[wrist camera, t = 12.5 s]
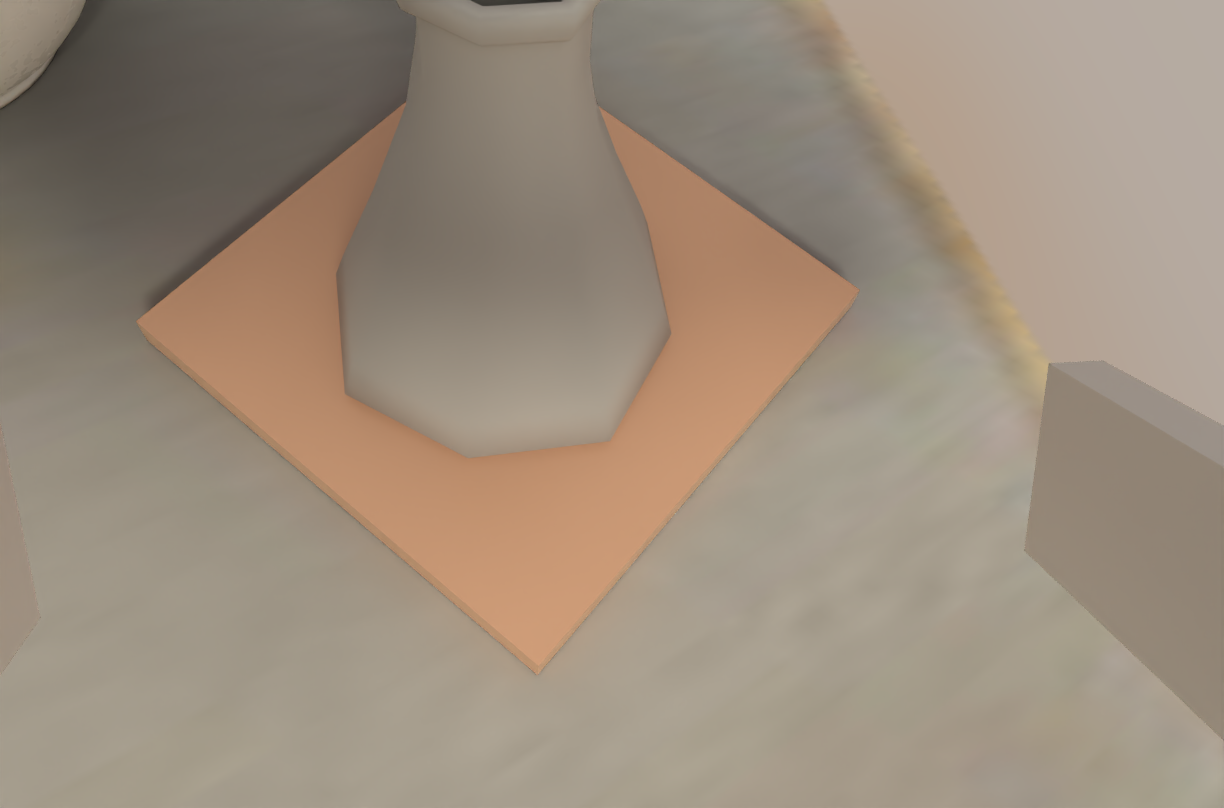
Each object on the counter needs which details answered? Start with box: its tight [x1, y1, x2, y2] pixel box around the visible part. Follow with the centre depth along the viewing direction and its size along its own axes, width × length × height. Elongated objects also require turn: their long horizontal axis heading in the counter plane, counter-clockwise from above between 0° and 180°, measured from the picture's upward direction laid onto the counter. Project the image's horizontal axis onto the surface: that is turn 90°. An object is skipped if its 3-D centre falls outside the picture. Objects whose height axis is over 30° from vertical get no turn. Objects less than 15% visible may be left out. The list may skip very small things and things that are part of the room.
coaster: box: [136, 102, 860, 675], centre depth 24 cm, size 11×11×1 cm
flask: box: [336, 0, 671, 458], centre depth 19 cm, size 7×7×10 cm
